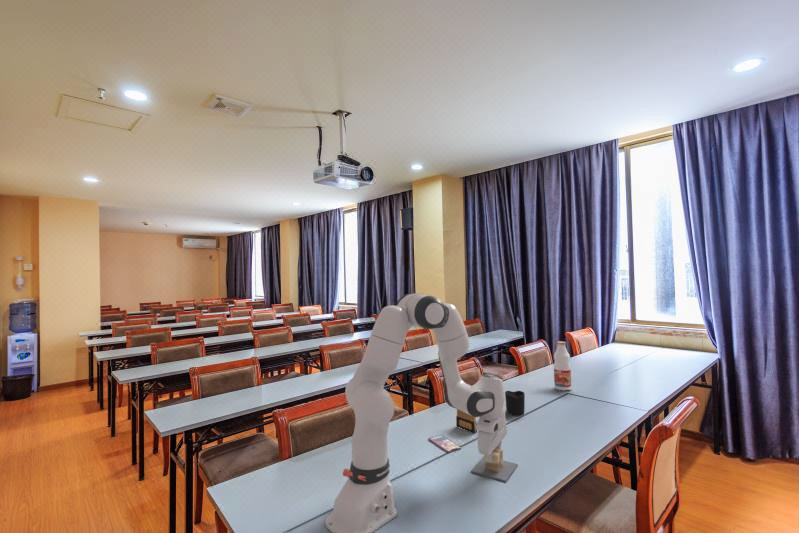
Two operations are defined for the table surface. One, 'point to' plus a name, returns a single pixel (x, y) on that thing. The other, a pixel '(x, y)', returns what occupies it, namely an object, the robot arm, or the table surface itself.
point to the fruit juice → (562, 367)
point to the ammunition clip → (466, 421)
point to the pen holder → (515, 402)
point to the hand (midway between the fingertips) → (494, 456)
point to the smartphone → (444, 443)
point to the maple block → (495, 460)
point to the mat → (501, 475)
